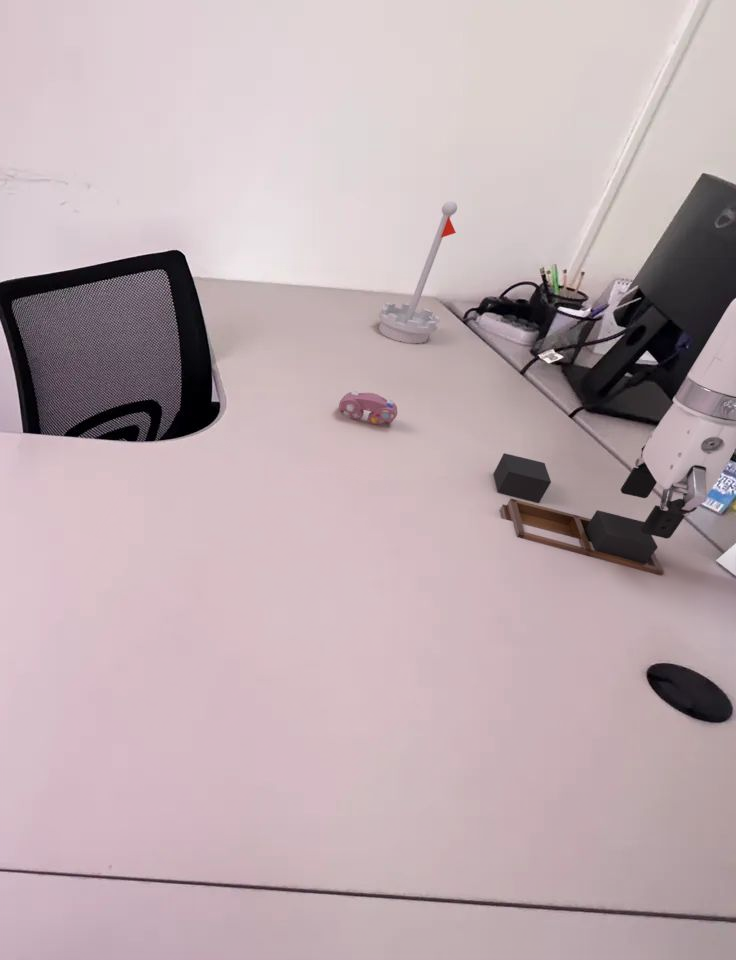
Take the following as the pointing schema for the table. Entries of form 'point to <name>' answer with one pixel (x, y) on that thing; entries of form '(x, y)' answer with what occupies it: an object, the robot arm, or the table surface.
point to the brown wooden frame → (564, 532)
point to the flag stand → (417, 297)
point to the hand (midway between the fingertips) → (643, 513)
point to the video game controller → (368, 407)
